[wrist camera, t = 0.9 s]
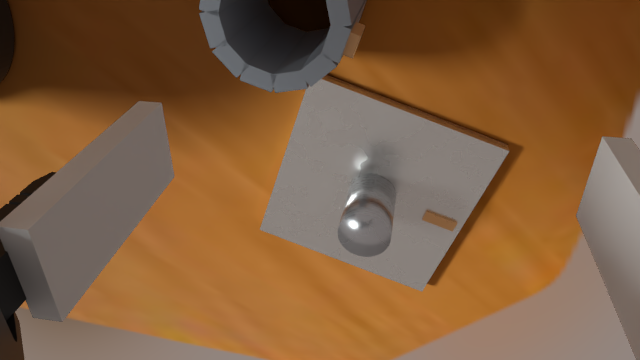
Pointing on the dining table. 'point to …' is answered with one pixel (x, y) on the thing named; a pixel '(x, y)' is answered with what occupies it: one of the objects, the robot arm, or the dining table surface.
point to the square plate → (378, 182)
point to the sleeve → (279, 42)
